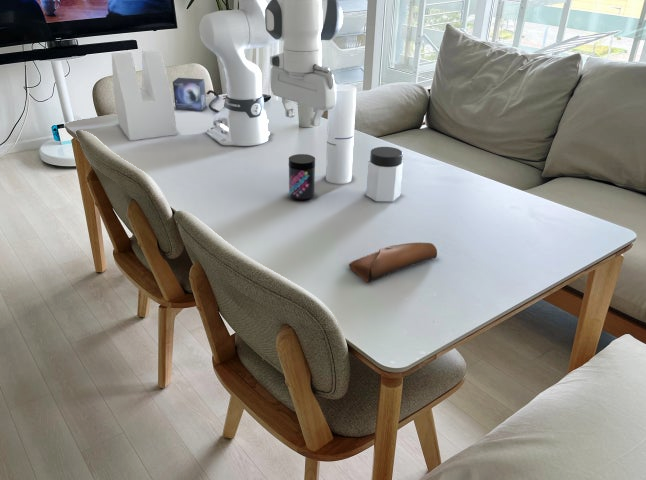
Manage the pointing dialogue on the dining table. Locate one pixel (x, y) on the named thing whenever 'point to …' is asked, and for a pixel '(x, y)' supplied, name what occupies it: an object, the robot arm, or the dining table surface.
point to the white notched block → (143, 96)
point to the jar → (384, 174)
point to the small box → (189, 94)
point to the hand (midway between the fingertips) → (302, 121)
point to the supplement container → (301, 177)
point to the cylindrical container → (341, 135)
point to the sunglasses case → (392, 259)
